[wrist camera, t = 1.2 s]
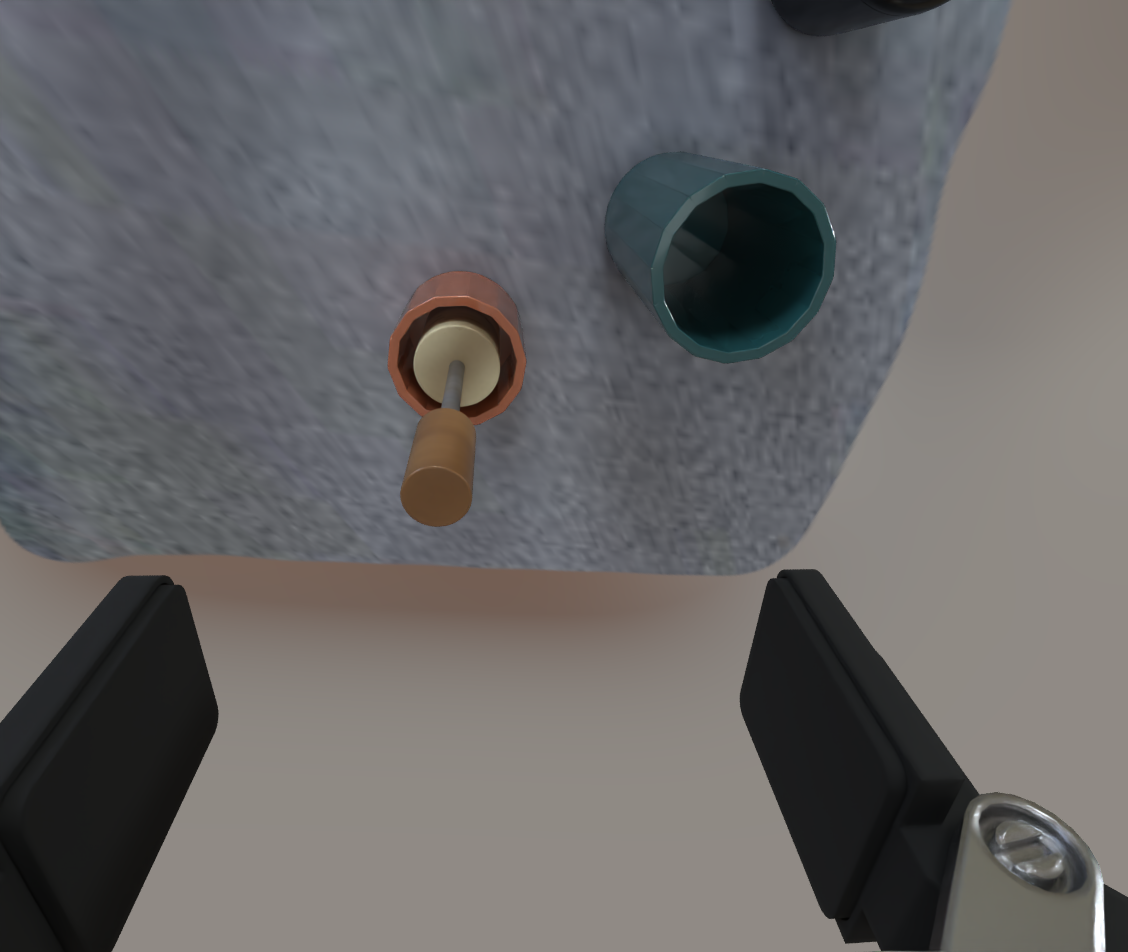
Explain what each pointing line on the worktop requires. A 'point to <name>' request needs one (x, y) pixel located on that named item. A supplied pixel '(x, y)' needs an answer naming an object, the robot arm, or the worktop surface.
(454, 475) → the brush
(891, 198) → the worktop surface
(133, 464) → the worktop surface
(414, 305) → the cup
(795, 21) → the supplement bottle
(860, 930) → the robot arm
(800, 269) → the cup
